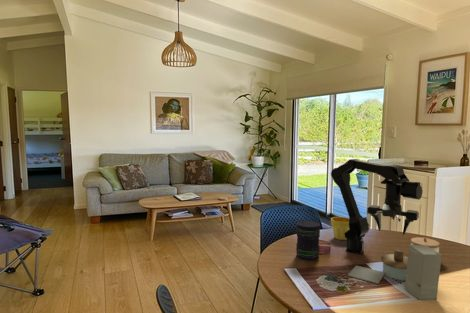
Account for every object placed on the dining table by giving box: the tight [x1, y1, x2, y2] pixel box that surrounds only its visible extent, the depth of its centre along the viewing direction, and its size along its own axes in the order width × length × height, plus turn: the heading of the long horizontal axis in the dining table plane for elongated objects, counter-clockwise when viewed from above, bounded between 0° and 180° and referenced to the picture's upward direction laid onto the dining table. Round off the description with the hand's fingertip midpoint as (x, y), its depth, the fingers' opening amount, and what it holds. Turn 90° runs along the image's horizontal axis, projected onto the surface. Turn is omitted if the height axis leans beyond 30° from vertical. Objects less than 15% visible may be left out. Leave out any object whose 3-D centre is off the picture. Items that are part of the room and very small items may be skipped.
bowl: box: [382, 262, 407, 281], centre depth 127 cm, size 10×10×4 cm
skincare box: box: [404, 244, 443, 301], centre depth 111 cm, size 8×7×16 cm
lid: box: [380, 249, 408, 269], centre depth 126 cm, size 12×12×4 cm
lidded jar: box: [410, 237, 440, 253], centre depth 141 cm, size 11×11×9 cm
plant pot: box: [330, 216, 349, 241], centre depth 169 cm, size 10×10×10 cm
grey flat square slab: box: [347, 265, 386, 285], centre depth 126 cm, size 11×11×1 cm
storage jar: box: [295, 219, 321, 262], centre depth 143 cm, size 10×10×15 cm
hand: (391, 232), depth 138 cm, fingers open, 9 cm apart
